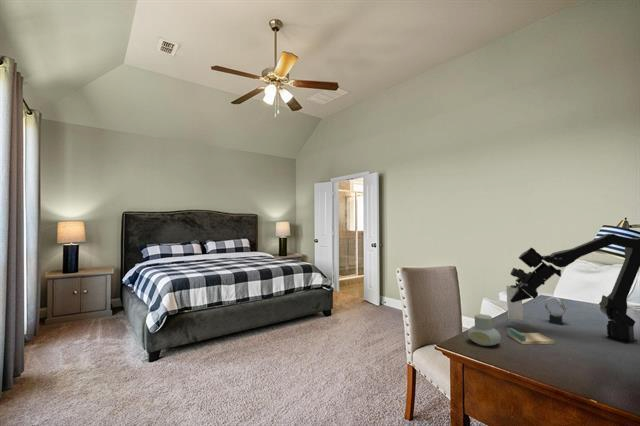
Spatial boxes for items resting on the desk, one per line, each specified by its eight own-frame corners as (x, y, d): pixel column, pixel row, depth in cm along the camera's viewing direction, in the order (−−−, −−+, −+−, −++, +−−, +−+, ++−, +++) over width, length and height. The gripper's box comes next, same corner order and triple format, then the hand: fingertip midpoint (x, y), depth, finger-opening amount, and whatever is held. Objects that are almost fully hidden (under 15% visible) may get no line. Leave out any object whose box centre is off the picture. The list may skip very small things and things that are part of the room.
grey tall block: (521, 316, 133) (519, 284, 134) (523, 319, 128) (521, 286, 129) (507, 315, 135) (506, 284, 136) (509, 318, 131) (507, 286, 131)
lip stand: (538, 335, 122) (538, 327, 122) (555, 344, 113) (554, 335, 113) (507, 335, 122) (507, 327, 123) (521, 343, 113) (521, 335, 114)
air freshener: (504, 344, 114) (502, 316, 114) (497, 350, 108) (495, 321, 108) (473, 337, 122) (471, 311, 122) (465, 342, 116) (463, 315, 116)
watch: (567, 325, 133) (566, 300, 134) (544, 322, 138) (543, 297, 139) (568, 322, 137) (566, 297, 138) (546, 319, 143) (544, 295, 143)
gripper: (519, 259, 140) (493, 282, 144) (526, 264, 123) (496, 290, 127) (542, 277, 136) (514, 301, 140) (551, 285, 119) (519, 311, 123)
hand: (510, 300), depth 133 cm, fingers closed on grey tall block, 5 cm apart
